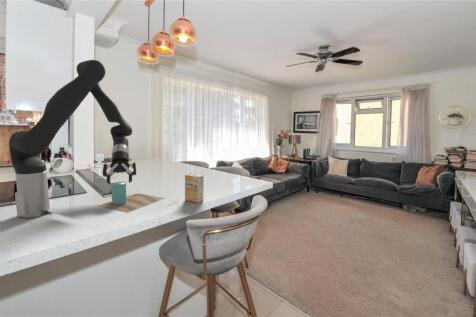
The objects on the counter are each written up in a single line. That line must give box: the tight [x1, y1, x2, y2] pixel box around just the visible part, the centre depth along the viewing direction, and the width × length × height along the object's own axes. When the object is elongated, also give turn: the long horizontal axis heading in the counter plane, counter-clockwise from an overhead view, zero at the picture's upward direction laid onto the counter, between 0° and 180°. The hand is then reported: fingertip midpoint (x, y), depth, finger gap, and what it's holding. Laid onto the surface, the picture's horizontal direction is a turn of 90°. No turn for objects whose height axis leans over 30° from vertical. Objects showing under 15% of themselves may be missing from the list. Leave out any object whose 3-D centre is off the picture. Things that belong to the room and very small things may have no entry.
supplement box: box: [184, 172, 205, 204], centre depth 115 cm, size 8×5×13 cm, turn 62°
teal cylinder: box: [110, 181, 127, 205], centre depth 105 cm, size 6×6×9 cm
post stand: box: [97, 192, 165, 214], centre depth 107 cm, size 22×18×8 cm
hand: (119, 182), depth 108 cm, fingers open, 8 cm apart
